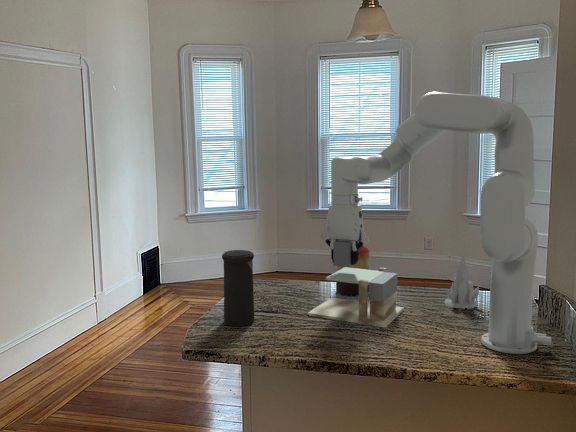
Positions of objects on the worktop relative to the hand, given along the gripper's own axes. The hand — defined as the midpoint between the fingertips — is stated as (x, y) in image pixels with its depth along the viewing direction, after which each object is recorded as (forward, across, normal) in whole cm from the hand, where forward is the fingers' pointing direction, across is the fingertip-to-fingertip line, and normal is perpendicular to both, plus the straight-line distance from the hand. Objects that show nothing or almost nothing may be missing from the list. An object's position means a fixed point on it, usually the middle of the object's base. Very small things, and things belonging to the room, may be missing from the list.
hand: (344, 262), depth 160 cm
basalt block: (+1, 0, 0) cm, 1 cm away
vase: (+15, +6, -20) cm, 25 cm away
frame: (+15, -4, 0) cm, 15 cm away
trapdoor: (+8, -5, 0) cm, 10 cm away
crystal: (+15, -28, -23) cm, 40 cm away
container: (+15, +22, +22) cm, 35 cm away
